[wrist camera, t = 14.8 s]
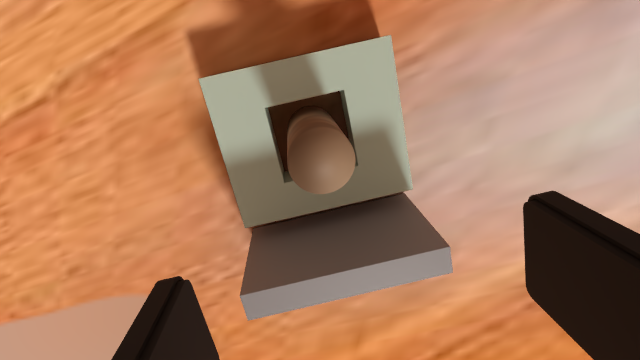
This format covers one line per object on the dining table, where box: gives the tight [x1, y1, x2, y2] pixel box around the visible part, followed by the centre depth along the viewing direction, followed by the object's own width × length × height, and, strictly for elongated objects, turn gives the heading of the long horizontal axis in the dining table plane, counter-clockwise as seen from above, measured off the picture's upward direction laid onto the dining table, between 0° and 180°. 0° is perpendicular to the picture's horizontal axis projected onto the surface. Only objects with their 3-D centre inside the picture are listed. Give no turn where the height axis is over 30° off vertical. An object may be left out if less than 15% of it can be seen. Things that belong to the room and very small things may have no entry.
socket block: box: [199, 35, 413, 228], centre depth 30 cm, size 14×12×3 cm
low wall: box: [240, 193, 453, 321], centre depth 29 cm, size 14×2×10 cm, turn 102°
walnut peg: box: [287, 106, 355, 194], centre depth 27 cm, size 4×4×10 cm
